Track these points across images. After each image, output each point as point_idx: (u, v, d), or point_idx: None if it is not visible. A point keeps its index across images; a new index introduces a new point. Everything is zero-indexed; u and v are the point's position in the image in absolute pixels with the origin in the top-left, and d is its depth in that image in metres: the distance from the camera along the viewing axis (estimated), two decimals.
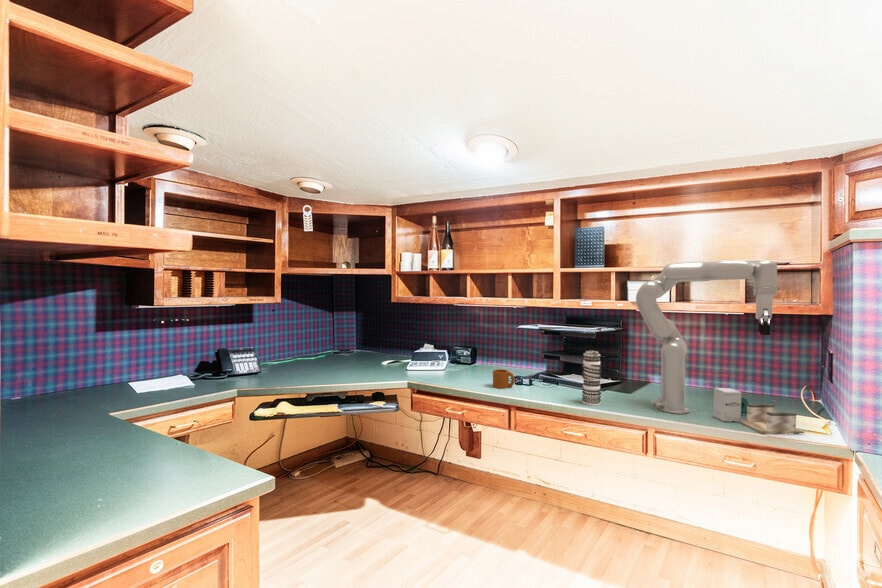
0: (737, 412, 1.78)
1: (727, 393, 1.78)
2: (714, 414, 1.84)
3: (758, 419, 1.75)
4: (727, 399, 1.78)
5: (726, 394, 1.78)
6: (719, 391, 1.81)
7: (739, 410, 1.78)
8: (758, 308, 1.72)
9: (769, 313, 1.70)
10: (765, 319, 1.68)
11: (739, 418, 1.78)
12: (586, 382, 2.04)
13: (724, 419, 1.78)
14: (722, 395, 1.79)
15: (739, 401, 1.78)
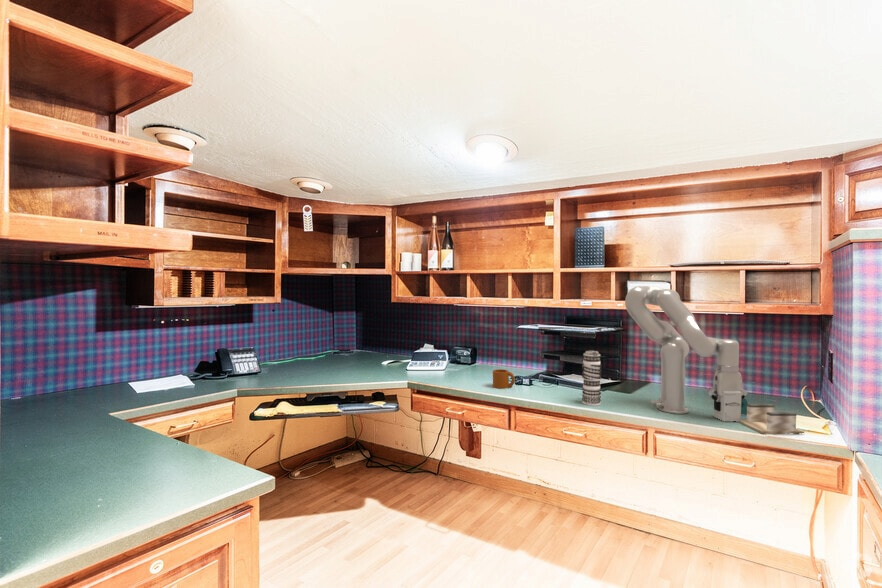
0: (737, 412, 1.78)
1: (727, 393, 1.78)
2: (714, 414, 1.84)
3: (758, 419, 1.75)
4: (727, 399, 1.78)
5: (726, 394, 1.78)
6: None
7: (739, 410, 1.78)
8: (742, 385, 1.79)
9: None
10: None
11: (739, 418, 1.78)
12: (586, 382, 2.04)
13: (724, 419, 1.78)
14: None
15: (739, 401, 1.78)
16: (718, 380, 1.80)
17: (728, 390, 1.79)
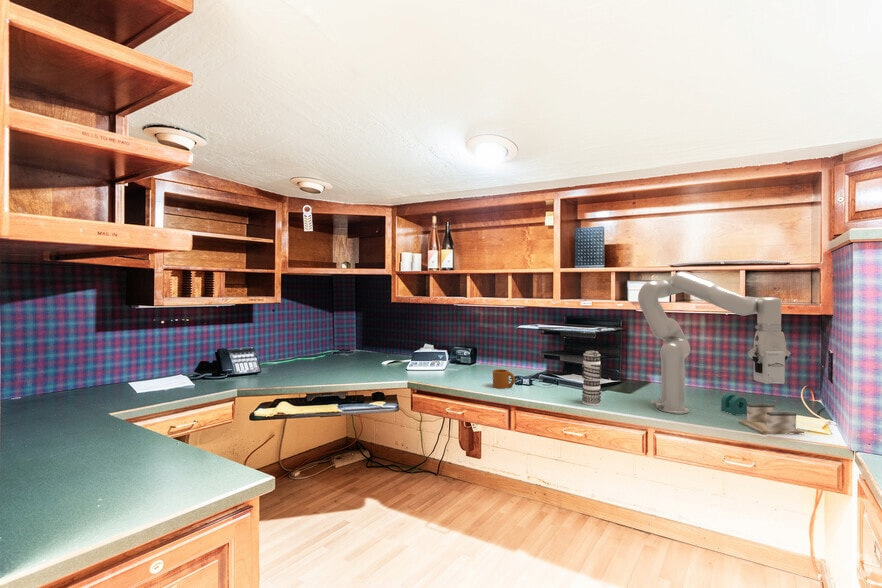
0: (780, 373, 1.67)
1: (770, 353, 1.67)
2: (755, 377, 1.73)
3: (758, 419, 1.75)
4: (770, 360, 1.67)
5: (769, 354, 1.67)
6: None
7: (783, 371, 1.67)
8: (785, 345, 1.68)
9: None
10: None
11: (783, 380, 1.67)
12: (586, 382, 2.04)
13: (767, 381, 1.67)
14: None
15: (782, 361, 1.67)
16: (759, 340, 1.69)
17: (770, 350, 1.68)
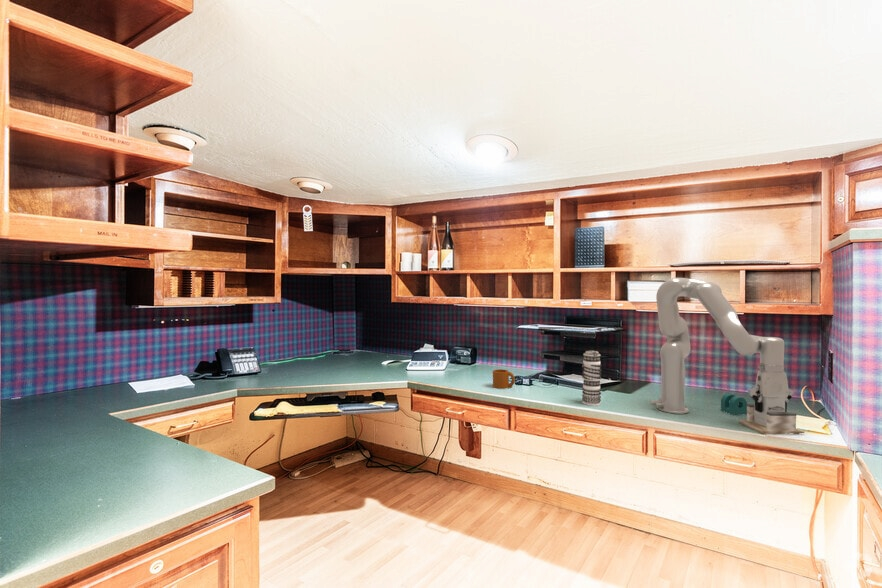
0: None
1: (770, 396, 1.67)
2: (755, 420, 1.74)
3: None
4: (770, 403, 1.67)
5: (769, 398, 1.67)
6: None
7: None
8: (787, 386, 1.68)
9: None
10: None
11: None
12: (586, 382, 2.04)
13: None
14: (764, 399, 1.69)
15: (783, 405, 1.67)
16: (762, 380, 1.69)
17: (772, 391, 1.67)
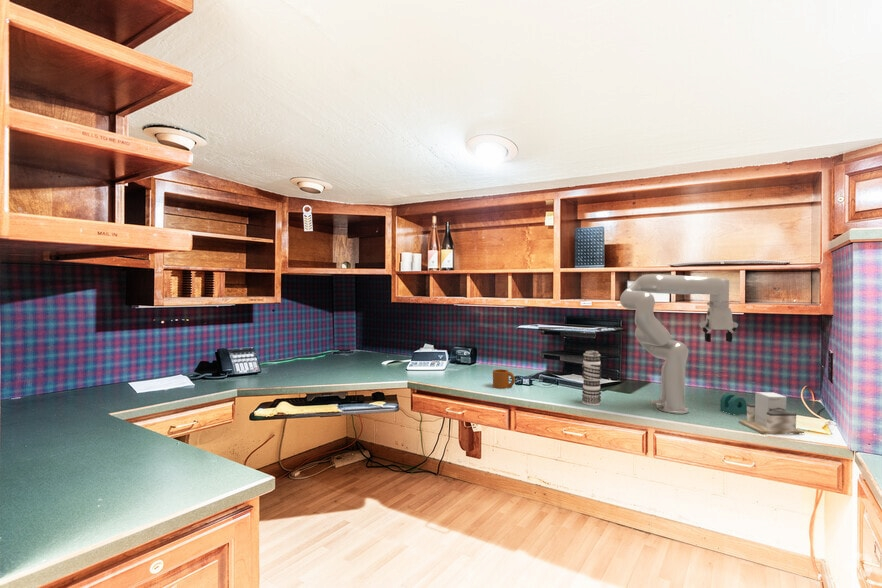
0: None
1: (771, 398, 1.67)
2: (756, 420, 1.73)
3: None
4: (771, 404, 1.67)
5: (770, 399, 1.67)
6: (762, 395, 1.70)
7: None
8: None
9: None
10: None
11: None
12: (586, 382, 2.04)
13: None
14: (766, 400, 1.68)
15: (784, 406, 1.67)
16: (710, 315, 1.98)
17: (719, 323, 1.97)
